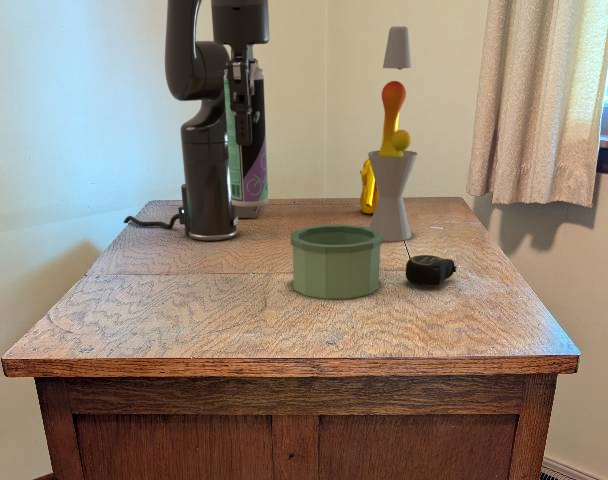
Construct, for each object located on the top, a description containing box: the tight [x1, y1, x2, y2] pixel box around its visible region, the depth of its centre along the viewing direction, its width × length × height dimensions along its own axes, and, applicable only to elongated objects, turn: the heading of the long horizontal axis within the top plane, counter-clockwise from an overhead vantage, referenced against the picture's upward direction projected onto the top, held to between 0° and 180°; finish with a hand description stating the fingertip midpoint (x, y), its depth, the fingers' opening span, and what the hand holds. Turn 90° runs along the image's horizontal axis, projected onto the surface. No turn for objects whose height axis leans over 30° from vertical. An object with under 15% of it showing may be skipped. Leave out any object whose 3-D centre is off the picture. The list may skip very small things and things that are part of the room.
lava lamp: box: [367, 25, 418, 242], centre depth 130 cm, size 9×9×35 cm
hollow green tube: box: [290, 224, 384, 300], centre depth 111 cm, size 14×14×8 cm
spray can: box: [224, 60, 269, 207], centre depth 102 cm, size 6×6×20 cm
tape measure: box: [405, 254, 458, 286], centre depth 112 cm, size 7×7×4 cm
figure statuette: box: [359, 113, 400, 214], centre depth 152 cm, size 18×8×22 cm, turn 175°
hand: (246, 141), depth 103 cm, fingers closed on spray can, 5 cm apart
